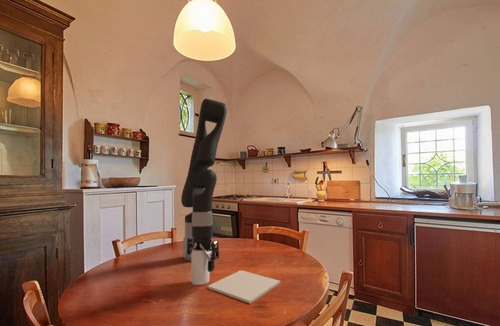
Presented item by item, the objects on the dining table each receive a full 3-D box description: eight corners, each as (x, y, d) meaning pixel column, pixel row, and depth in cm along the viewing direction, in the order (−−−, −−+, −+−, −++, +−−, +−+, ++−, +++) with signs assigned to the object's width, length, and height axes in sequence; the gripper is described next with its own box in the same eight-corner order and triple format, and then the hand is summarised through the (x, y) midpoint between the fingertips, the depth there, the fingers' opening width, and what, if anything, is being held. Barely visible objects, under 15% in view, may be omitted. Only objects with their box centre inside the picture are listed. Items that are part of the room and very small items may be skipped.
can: (205, 286, 85) (205, 251, 86) (188, 285, 86) (188, 250, 87) (211, 279, 91) (212, 246, 92) (195, 277, 93) (196, 245, 94)
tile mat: (207, 288, 84) (207, 285, 84) (240, 272, 98) (240, 270, 98) (250, 303, 73) (250, 300, 73) (280, 283, 88) (280, 280, 88)
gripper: (181, 223, 92) (181, 268, 90) (208, 227, 83) (209, 276, 82) (196, 220, 98) (196, 262, 96) (223, 223, 89) (223, 269, 88)
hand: (202, 268), depth 89 cm, fingers open, 8 cm apart
